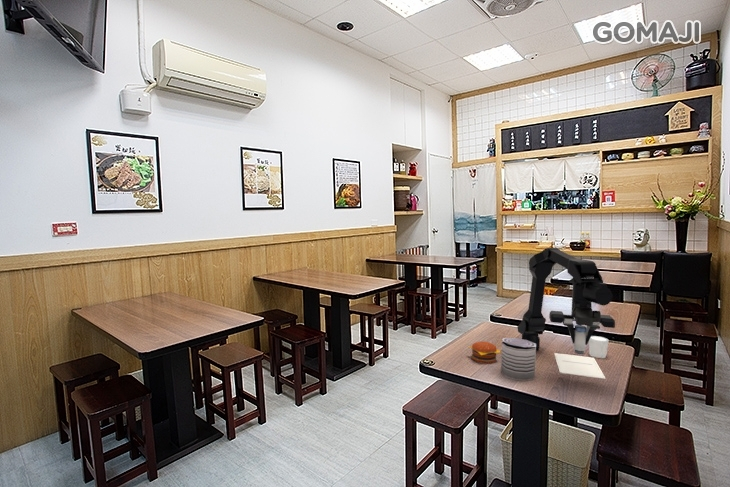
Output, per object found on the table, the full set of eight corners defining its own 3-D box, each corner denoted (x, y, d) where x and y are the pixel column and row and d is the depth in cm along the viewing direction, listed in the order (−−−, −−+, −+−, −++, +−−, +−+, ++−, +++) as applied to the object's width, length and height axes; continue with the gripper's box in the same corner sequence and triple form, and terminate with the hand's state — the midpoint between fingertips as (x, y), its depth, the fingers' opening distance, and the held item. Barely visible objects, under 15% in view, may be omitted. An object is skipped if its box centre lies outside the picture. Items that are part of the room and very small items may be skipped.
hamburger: (486, 353, 156) (486, 337, 155) (501, 362, 147) (502, 345, 146) (466, 356, 153) (466, 339, 152) (480, 365, 144) (481, 348, 143)
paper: (559, 373, 137) (560, 372, 137) (554, 353, 156) (554, 352, 156) (605, 379, 132) (605, 378, 132) (593, 358, 151) (593, 357, 151)
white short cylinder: (610, 359, 150) (611, 341, 149) (591, 358, 151) (592, 340, 150) (603, 353, 156) (604, 336, 156) (585, 351, 158) (586, 335, 157)
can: (493, 370, 139) (494, 338, 138) (517, 365, 144) (518, 333, 143) (518, 383, 129) (519, 348, 128) (542, 377, 133) (544, 343, 132)
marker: (574, 353, 130) (575, 327, 129) (572, 350, 133) (574, 324, 132) (585, 355, 128) (587, 328, 128) (584, 351, 131) (585, 325, 131)
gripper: (553, 301, 125) (551, 348, 126) (620, 306, 118) (618, 355, 119) (550, 294, 135) (548, 337, 136) (612, 298, 129) (609, 344, 130)
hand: (579, 343), depth 130 cm, fingers closed on marker, 3 cm apart
